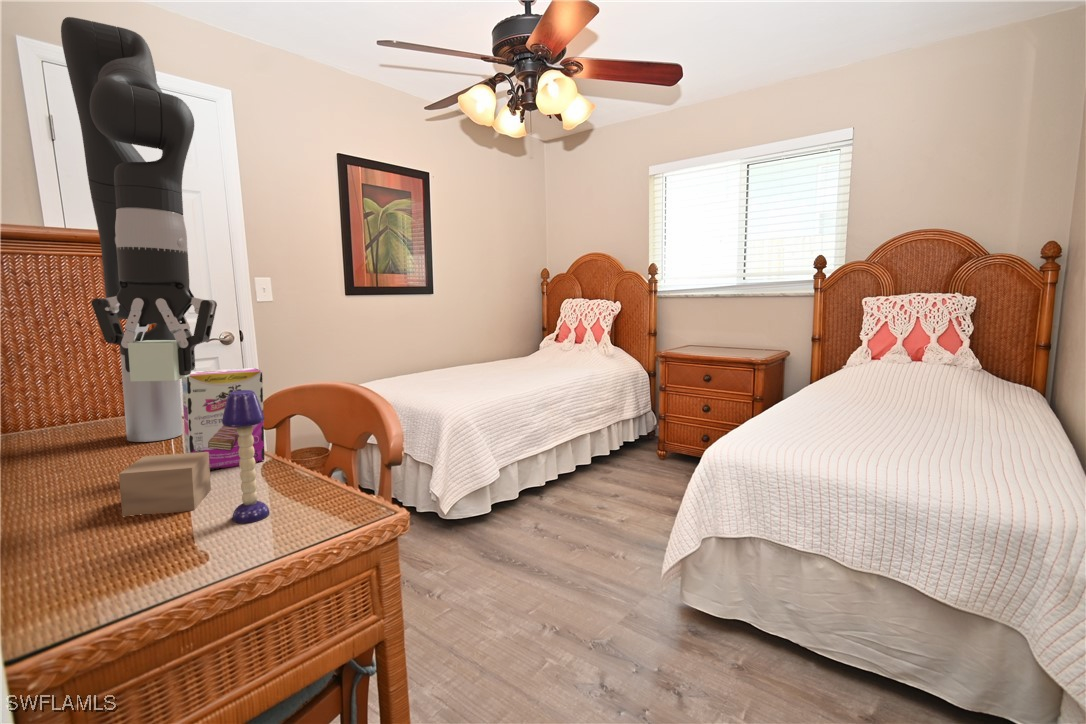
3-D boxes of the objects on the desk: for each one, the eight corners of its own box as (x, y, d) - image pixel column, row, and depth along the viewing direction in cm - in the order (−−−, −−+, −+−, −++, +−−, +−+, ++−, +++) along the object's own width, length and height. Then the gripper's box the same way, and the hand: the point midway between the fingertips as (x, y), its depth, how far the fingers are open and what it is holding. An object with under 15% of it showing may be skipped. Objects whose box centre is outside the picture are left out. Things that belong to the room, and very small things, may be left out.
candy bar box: (191, 475, 83) (185, 374, 81) (185, 468, 86) (179, 371, 84) (267, 461, 90) (263, 369, 89) (258, 455, 94) (254, 366, 92)
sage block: (149, 376, 71) (146, 340, 71) (190, 375, 73) (188, 340, 72) (130, 381, 67) (127, 342, 66) (174, 380, 68) (172, 342, 67)
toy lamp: (262, 523, 65) (256, 394, 63) (221, 526, 64) (214, 394, 62) (273, 509, 70) (268, 388, 68) (235, 511, 69) (229, 388, 67)
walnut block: (146, 496, 74) (143, 456, 73) (210, 490, 77) (208, 451, 76) (122, 518, 66) (118, 473, 66) (194, 511, 69) (191, 467, 68)
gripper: (223, 252, 73) (229, 371, 75) (105, 248, 70) (114, 372, 71) (203, 247, 66) (211, 378, 68) (70, 241, 62) (81, 380, 64)
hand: (161, 374), depth 70 cm, fingers closed on sage block, 5 cm apart
